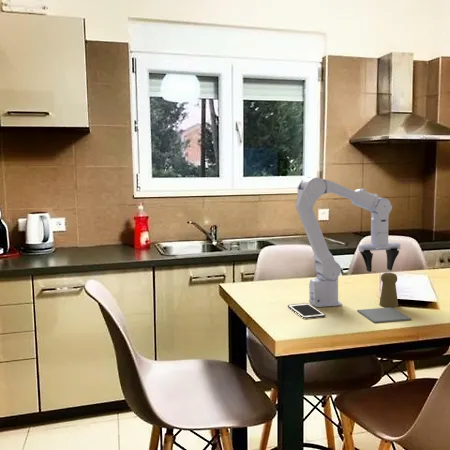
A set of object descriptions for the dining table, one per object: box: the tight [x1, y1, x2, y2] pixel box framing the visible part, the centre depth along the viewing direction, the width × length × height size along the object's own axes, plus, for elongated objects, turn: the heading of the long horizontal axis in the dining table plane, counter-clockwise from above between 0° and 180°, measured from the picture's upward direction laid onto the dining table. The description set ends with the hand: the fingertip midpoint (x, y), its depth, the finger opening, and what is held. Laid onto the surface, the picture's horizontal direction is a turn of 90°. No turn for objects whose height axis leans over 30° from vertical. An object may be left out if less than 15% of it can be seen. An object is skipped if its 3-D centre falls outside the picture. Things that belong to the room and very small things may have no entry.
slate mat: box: [356, 307, 412, 324], centre depth 150 cm, size 12×12×1 cm
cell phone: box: [287, 302, 326, 319], centre depth 156 cm, size 8×15×1 cm, turn 13°
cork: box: [379, 272, 399, 309], centre depth 160 cm, size 6×6×11 cm
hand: (379, 270), depth 166 cm, fingers open, 7 cm apart
